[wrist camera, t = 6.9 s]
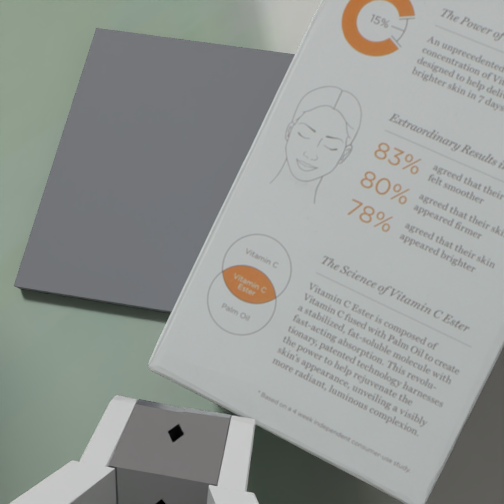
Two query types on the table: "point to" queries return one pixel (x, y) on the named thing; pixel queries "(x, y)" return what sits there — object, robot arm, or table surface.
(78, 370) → the table surface
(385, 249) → the small box
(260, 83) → the mat
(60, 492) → the robot arm
